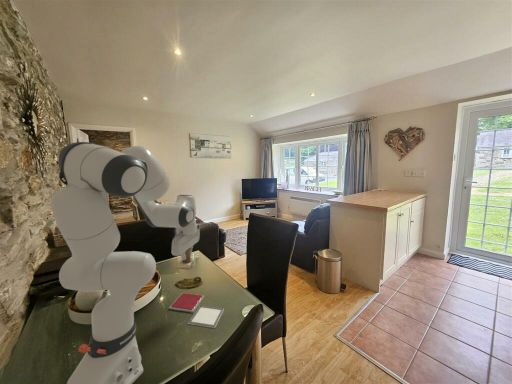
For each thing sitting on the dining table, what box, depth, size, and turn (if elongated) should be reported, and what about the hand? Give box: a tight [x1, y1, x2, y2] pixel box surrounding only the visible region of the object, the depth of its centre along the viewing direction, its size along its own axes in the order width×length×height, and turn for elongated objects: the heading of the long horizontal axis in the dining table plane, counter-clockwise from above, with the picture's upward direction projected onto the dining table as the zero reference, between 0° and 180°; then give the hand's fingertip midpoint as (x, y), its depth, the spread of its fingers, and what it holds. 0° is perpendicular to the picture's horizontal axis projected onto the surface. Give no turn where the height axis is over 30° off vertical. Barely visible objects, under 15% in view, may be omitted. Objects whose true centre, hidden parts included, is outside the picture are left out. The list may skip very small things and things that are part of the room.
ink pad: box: [168, 292, 205, 313], centre depth 104 cm, size 12×12×1 cm
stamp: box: [177, 248, 196, 271], centre depth 101 cm, size 6×6×9 cm
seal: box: [175, 276, 203, 290], centre depth 120 cm, size 9×5×15 cm
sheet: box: [187, 304, 225, 329], centre depth 95 cm, size 12×12×1 cm
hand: (186, 257), depth 101 cm, fingers closed on stamp, 4 cm apart
